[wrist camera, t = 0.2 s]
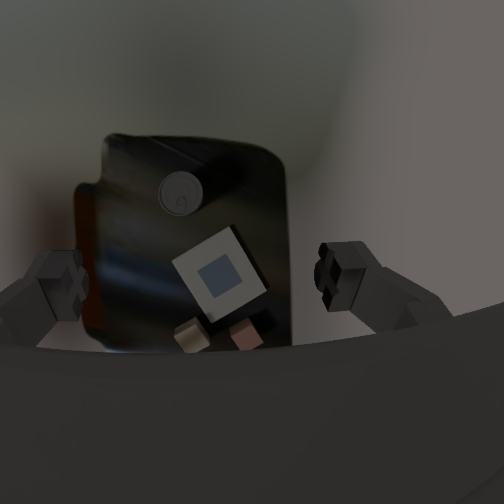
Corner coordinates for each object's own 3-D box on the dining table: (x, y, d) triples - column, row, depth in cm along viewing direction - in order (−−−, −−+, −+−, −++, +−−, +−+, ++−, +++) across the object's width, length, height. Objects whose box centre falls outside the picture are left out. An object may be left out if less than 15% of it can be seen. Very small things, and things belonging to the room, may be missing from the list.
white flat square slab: (265, 289, 66) (266, 290, 65) (211, 321, 65) (211, 323, 64) (228, 226, 63) (229, 226, 62) (172, 260, 62) (171, 261, 61)
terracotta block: (258, 333, 67) (263, 342, 62) (240, 344, 67) (243, 354, 62) (248, 316, 66) (251, 324, 61) (229, 328, 66) (231, 336, 61)
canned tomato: (165, 180, 60) (157, 172, 49) (202, 177, 61) (202, 169, 50) (166, 217, 61) (159, 217, 50) (203, 215, 62) (203, 214, 51)
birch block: (209, 335, 65) (209, 344, 61) (189, 347, 65) (188, 356, 60) (196, 316, 64) (195, 324, 60) (175, 328, 64) (173, 336, 59)
